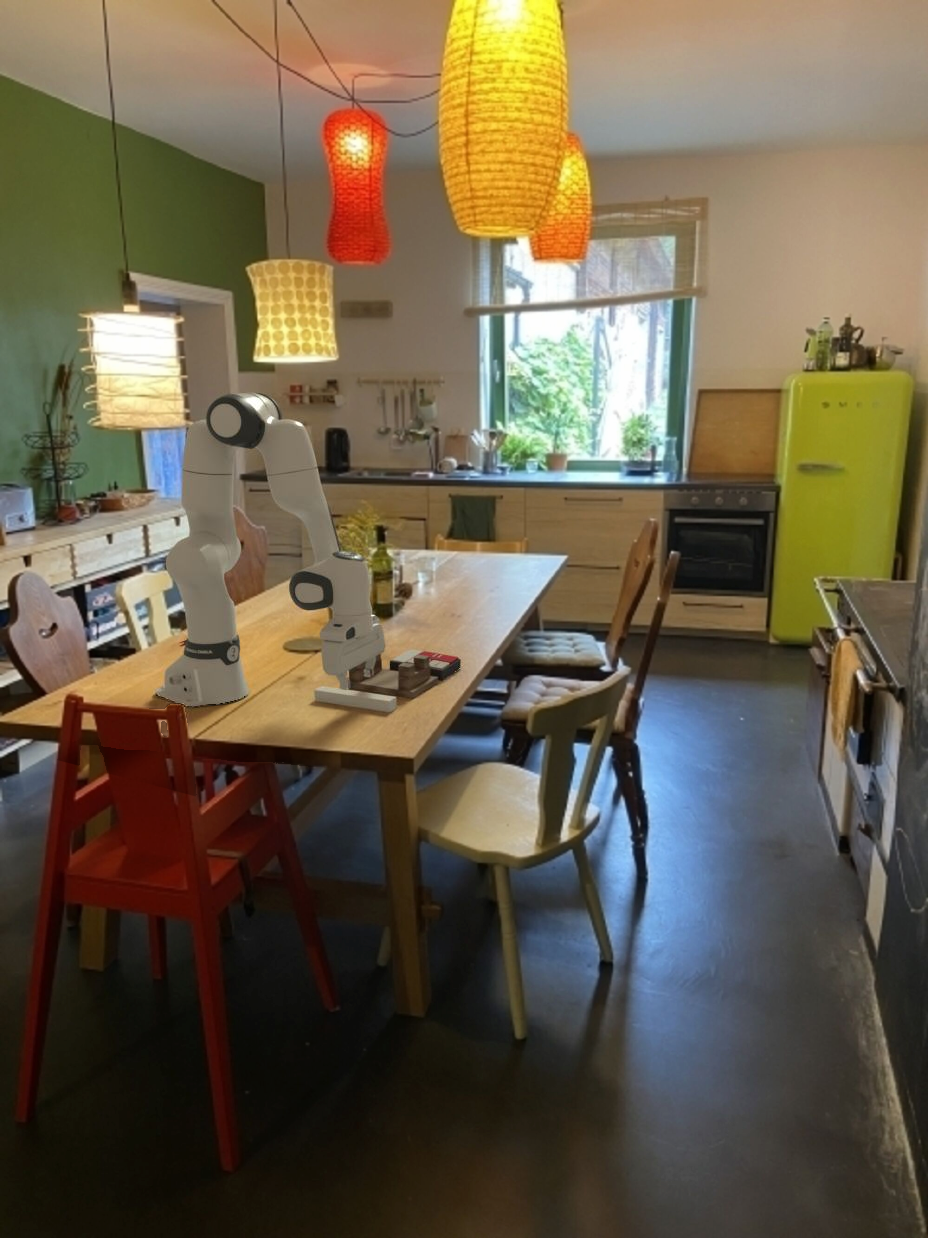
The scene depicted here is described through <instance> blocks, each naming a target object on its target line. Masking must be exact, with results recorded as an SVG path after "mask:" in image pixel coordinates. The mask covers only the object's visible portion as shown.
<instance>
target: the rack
mask: <svg viewBox="0 0 928 1238" xmlns="http://www.w3.org/2000/svg"><path fill="white" fill-rule="evenodd" d="M365 668H366V662H364V663H362V664H360V665H358V666H356V667H354V668H352V669H350V670H348V677H347V676H346V678H347V680H348V681H350V685H351V687H350V688H349V689H351V688H352V689H355V690H362V691H368V692H373V693H378V694H384V695H385V694H386V695H390V696H395V697H404V698H410V699H414V698H416V697H417V696H419V695H421V694H423V693H425V692H426V691H427V690H429V689H430V688H432V687H435V685H437V684H439V681H438V677H433V676H430V661H429V656H423V655H417V656H415V657H414V664H409V663H402V664H400V665H398V671H395V670H390V669H386V668H383V661H382V653H381V654H379V655H377V656H376V662H375V665H374V668H373V670H374V675H373V676H371V677H365V676H364V669H365Z"/></svg>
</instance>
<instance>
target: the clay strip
mask: <svg viewBox="0 0 928 1238" xmlns="http://www.w3.org/2000/svg"><path fill="white" fill-rule="evenodd" d="M313 693H314V695H313V696H314V701H315V702H322V703H328V704H335V705H339V706H347V707H353V708H360V709H365V710H366V709H367V710H373V711H378V712H384V713H391V712H393V711H394V710H396V709H397V707H398V706H397V696H394V695H388V694H386V695H385V694H381V693H374V692H373V693H372V692H365V691H359V690H351V689H347V690H342V689H341V688H338V687H330V686H325V685H324V686H323V685H321V686H319V687H317V688H315V689H314V691H313Z"/></svg>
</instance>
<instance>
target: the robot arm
mask: <svg viewBox="0 0 928 1238" xmlns="http://www.w3.org/2000/svg"><path fill="white" fill-rule="evenodd" d="M282 413H283V412H282V410H281V408H280V405H279V404H278V402H276V400H274V399H273V398H271V397H270V396H268V395H266V394H265V393H264V394H263V393H261V392H260V393H259V392H250V391H249V392H247V391H243V392H242V391H241V392H238V393H228V394H223V395H221V396H219V397H218V398H216V399H215V400H214V401H213V402H211V404H210V405H209V406H208V408H207V412H206V417H205V419H200V420H197V421H194V422H193V423H192V424H190V426H189V427H188V429H187V432H186V437H185V442H184V445H183V446H184V447H183V452H182V453H183V455H182V467H181V468H182V470H181V471H182V472H181V473H182V474H181V505H182V508H183V509H184V511H185V513H186V518H187V522H188V527H189V533H188V536H187V537H184V538H182V539H180V540H178V541H177V542H176V543H174V546H172V548H171V549H170V551H168V553H167V554H166V559H165V568H166V572H167V574H168V575H169V577H170V578H171V580H172V581H173V582H174V583H175V584H176V586H177V589H178V592H179V595H180V597H181V600H182V603H183V609H184V612H185V613H184V614H185V623H186V630H187V638H186V639H185V640H182V641H179V643H178V644H180V645H179V647H180V648H181V647H184V648H183V654H182V655H180V656H179V657H178V658H177V659H176V660H175V661H174V662H172V663H171V664H170V665H169V666H168V667H167V668H166V670H165V672H164V684H163V685H161V686H159V687H158V688H157V689H156V690H155V691H154V695H155V694H157V695H160V696H163V697H165V698H168V699H171V700H174V701H175V702H174V703H176V704H178V703H184V705H185V707H187V706H186V705H188V706H198V705H203V706H205V705H204V704H216V705H221V704H220V703H223V704H226V703H225V702H229V703H231V702H230V701H233V702H235V701H234V700H236V701H239V700H241V699H243V698H244V696H245V697H246V696H248V695H249V693H250V690H249V687H248V682H247V679H246V678H245V674H244V667H243V663H242V658H241V655H240V654H241V640H240V636H239V634H238V632H237V631H238V630H237V629H238V628H237V621H236V620H237V619H236V618H237V617H236V608H235V602H234V601H233V599H232V598H231V597H230V595H229V593H228V589H227V586H226V584H225V574H226V573H227V572H229V571H231V570H232V569H233V568H234V567H235V565H236V564H237V562H238V560H239V559H240V557H241V553H242V545H241V541H240V540H239V537H238V535H237V527H236V523H235V517H234V516H235V514H234V503H233V502H234V483H235V482H234V480H235V478H234V477H235V476H234V475H235V473H234V472H235V457H236V453H237V451H238V449H239V448H242V449H249V450H252V449H257V450H258V451H259V452H260V454H261V456H262V458H263V462H264V468H265V472H266V473H265V474H266V477H267V482H268V487H269V491H270V494H271V496H272V498H273V500H274V503H275V504H276V505H277V506H278V507H279V508H280V509H282V510H283V511H285V512H286V513H287V512H288V513H290V514H292V515H293V516H296V517H298V518H299V519H300V520H301V521H302V523H304V525H305V527H306V529H307V534H308V537H309V540H310V544H311V547H312V551H313V554H314V555H313V556H314V562H313V565H309V566H307V567H304V568H302V569H301V570H299V571H297V572H296V573H295V574H293V575H292V577H291V578H290V580H289V585H288V592H289V596H290V598H291V600H292V601H293V603H294V604H295V605H296V607H298V608H299V609H302V610H304V611H317V610H323V609H327V608H330V609H331V611H332V612H331V613H332V617H331V618H330V620H328V622H327V623H326V625H325V624H324V625H325V626H323V627H322V628H321V630H320V631H319V638H320V640H322V643H321V651H320V652H321V662H322V669H323V671H324V673H325V674H326V675H329V676H336V678H337V680H338V682H339V683H340V684H339V686H340V689H342V690H350V689H351V688H350V687H351V685H350V681H348V680H347V676H348V672H349V670H350V669H352V668H354V667H356V666H358V665H360V664H362V663H364V662H366V668H365V669H364V676H365V677H371V676H373V675H374V670H373V668H374V665H375V662H376V656H377V655H379V654H381V655H382V654H383V653H384V652H385V649H386V641H385V633H384V628H383V626H382V624H381V621H380V618H379V617H378V616H377V615H376V614H373V608H372V605H371V600H370V596H371V590H372V589H371V588H372V587H371V579H370V572H369V567H368V563H367V560H366V559H365V557H364V556H363V555H361V554H360V553H358V552H354V551H350V550H344V551H343V550H342V549H341V544H340V541H339V537H338V533H337V531H336V530H337V529H336V526H335V523H334V519H333V515H332V511H331V509H330V505H329V502H328V501H327V498H326V496H325V494H324V489H323V486H322V482H321V477H320V473H319V468H318V464H317V463H318V462H317V459H316V455H315V451H314V448H313V444H312V441H311V439H310V435H309V433H308V431H307V428H306V427H305V425H304V424H303V423H301V422H300V421H297V420H294V419H287V418H286V419H284V418H283V414H282ZM238 699H239V700H238ZM184 705H183V706H184ZM198 707H199V706H198Z"/></svg>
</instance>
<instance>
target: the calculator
mask: <svg viewBox="0 0 928 1238" xmlns="http://www.w3.org/2000/svg"><path fill="white" fill-rule="evenodd" d="M417 655H423V656H429V661H430V676H433V677H438V682H443V681H445V680H446V679H448V678H449V677H451V676H452V675H453V674H454V672H455V671H456V672H458V671H459V670H460V669H461V667H462V666H461V663H462V662H461V658H459V657H458V656H454V655H450V654H449V655H448V654H443V653H438V652H432V651H428V650H427V651H426V650H424V651H422V650H417V649H408V650H407V651H405V652H403V653H401V654H400V655H398V656H396V657H394V658H392V659H391V660H390V661H389V670H395V671H398V665H400V664H402V663H409V664H414V657H415V656H417ZM459 668H460V669H459ZM458 669H459V670H458ZM457 670H458V671H457ZM456 672H455V673H456ZM448 676H449V677H448ZM447 677H448V678H447ZM444 679H445V680H444Z"/></svg>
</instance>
